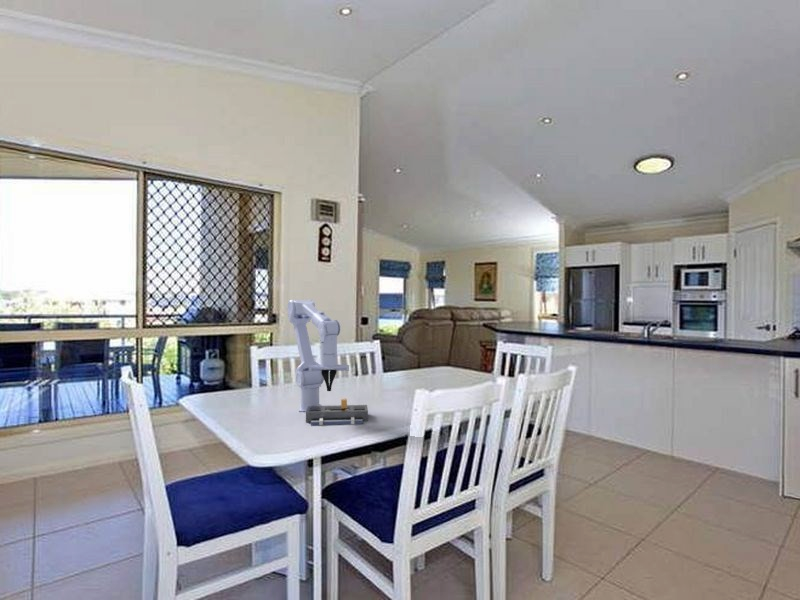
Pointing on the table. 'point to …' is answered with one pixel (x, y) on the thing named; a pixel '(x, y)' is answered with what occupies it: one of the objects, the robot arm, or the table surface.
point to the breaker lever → (343, 403)
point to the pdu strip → (337, 412)
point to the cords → (336, 421)
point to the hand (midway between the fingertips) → (329, 390)
